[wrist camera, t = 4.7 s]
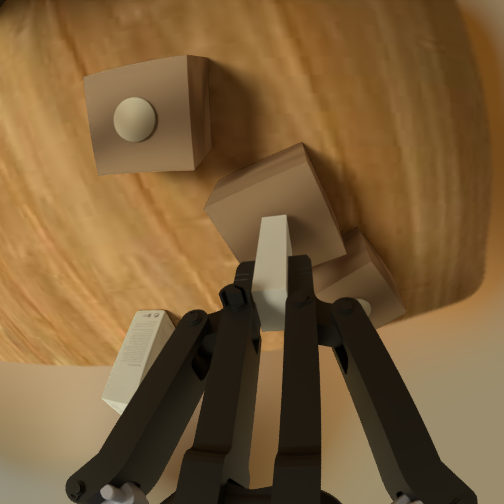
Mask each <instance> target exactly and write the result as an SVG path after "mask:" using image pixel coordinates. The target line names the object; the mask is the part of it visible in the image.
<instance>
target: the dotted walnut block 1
mask: <svg viewBox="0 0 504 504" xmlns="http://www.w3.org/2000/svg"><path fill="white" fill-rule="evenodd" d="M84 88H85V97H86V106H87V113H88V120H89V127H90V133H91V139H92V145H93V151H94V156H95V161H96V166H97V171H98V176H101V175H113V174H126V173H141V172H160V171H189V170H195V169H196V168H197V167H198V165H199V164H200V163H201V162H202V161H203V159H204V158H205V157H206V156H207V155H208V153H209V152H210V151H211V150H212V138H211V120H210V100H209V78H208V58H206V57H199V56H192V55H182V56H174V57H168V58H161V59H156V60H150V61H145V62H140V63H135V64H130V65H126V66H122V67H117V68H113V69H109V70H106V71H102V72H98V73H95V74H91V75H88V76H85V77H84Z"/></svg>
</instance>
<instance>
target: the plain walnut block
mask: <svg viewBox="0 0 504 504" xmlns="http://www.w3.org/2000/svg"><path fill="white" fill-rule="evenodd" d="M203 209H204V210H205V212H206V213H207V215H208V216H209V218H210V219H211V221H212V222H213V224H214V225H215V227H216V228H217V230H218V231H219V233H220V234H221V236H222V237H223V239H224V241H225V242H226V244H227V245H228V247H229V248H230V250H231V251H232V253H233V254H234V256H235V257H236V259H237V260H238V262H239V263H241V262H244V261H254V260H256V255H257V248H258V242H259V235H260V228H261V221H262V217H270V216H278V215H286V216H287V222H288V228H289V235H290V241H291V248H292V256H296V255H305V254H307V255H308V257H309V258H310V259H311V264H312V266H315V265H318V264H321V263H324V262H326V261H329V260H332V259H335V258H337V257H340V256H343V255H346V254H347V253H346V250H345V246H344V243H343V239H342V236H341V233H340V229H339V226H338V223H337V219H336V217H335V214H334V212H333V210H332V207H331V205H330V203H329V200H328V198H327V196H326V193H325V191H324V189H323V186H322V184H321V182H320V180H319V177H318V175H317V173H316V171H315V169H314V167H313V164H312V162H311V160H310V158H309V156H308V154H307V152H306V150H305V147H304V145H303V143H302V142H301V143H298V144H296V145H294V146H291V147H289V148H287V149H284V150H282V151H280V152H278V153H275V154H273V155H271V156H269V157H266V158H264V159H262V160H260V161H258V162H256V163H253V164H251V165H249V166H247V167H245V168H243V169H241V170H239V171H237V172H235V173H232V174H230V175H228V176H226V177H224V178H222V179H220V180H218V182H217V184H216V186H215V188H214V189H213V191H212V193H211V195H210V197H209V199H208V201H207V202H206V204H205V206H204V208H203Z"/></svg>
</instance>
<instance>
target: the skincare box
mask: <svg viewBox="0 0 504 504" xmlns="http://www.w3.org/2000/svg"><path fill="white" fill-rule="evenodd" d="M174 330H175V327H174V325H173V324H172V322H171V320H170V318H169V317H168V315H167V313H166V311H165V310H142V311H137V312H136V314H135V316H134V318H133V321H132V323H131V325H130V328H129V330H128V332H127V334H126V337H125V339H124V342H123V344H122V346H121V349H120V351H119V354H118V356H117V359H116V361H115V363H114V366H113V368H112V371H111V374H110V376H109V379H108V382H107V384H106V387H105V389H104V392H103V395H102V399H103V400H104V401H105V402H106V403H107V404H109V405H110V406H111V407H112V408H113V409H115V410H116V411H117V412H118V413H119V414H121V415H122V413H123V411H124V410H125V408H126V406H127V405H128V403H129V402H130V400H131V398H132V397H133V395H134V393H135V392H136V390H137V389H138V387H139V385H140V384H141V382H142V380H143V379H144V377H145V376H146V374H147V372H148V371H149V369H150V368H151V366H152V364H153V363H154V361H155V360H156V358H157V356H158V355H159V353H160V352H161V350H162V349H163V347H164V345H165V344H166V342H167V341H168V339H169V338H170V336H171V334H172V333H173V331H174Z"/></svg>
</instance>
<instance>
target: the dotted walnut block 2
mask: <svg viewBox="0 0 504 504" xmlns="http://www.w3.org/2000/svg"><path fill="white" fill-rule="evenodd" d="M342 239H343V243H344V246H345V250H346V253H347V254H346V255H343V256H340V257H337V258H335V259H332V260H329V261H326V262H324V263H321V264H318V265H315V266H312V274H313V284H314V293H315V295H316V297H317V298H318V299H319V300H321V301H323V302H327V303H334V302H335V301H336V300H337V299H339V298H343V297H351V298H354V299H356V300H358V301H359V302H360V304H361V305H362V307H363V309H364V310H365V312H366V314H367V316H368V317H369V319H370V321H371V323H372V324H373V326H374V328H375V330H376V329H378V328H380V327H381V326H383V325H385V324H387V323H389V322H391V321H393V320H394V319H396V318H398V317H400V316H402V315H403V314H405V313H407V311H406V308H405V306H404V303H403V300H402V298H401V295H400V292H399V290H398V287H397V285H396V282H395V280H394V277H393V275H392V274H391V272H390V271H389V269H388V268H387V266H386V265H385V264H384V262H383V261H382V259H381V258H380V256H379V255H378V253H377V252H376V251H375V249H374V248H373V246H372V245H371V244H370V242H369V241H368V239H367V238H366V237H365V235H364V234H363V233H362V231H361V230H360V229H359V227H358V226H357V227H356V228H354V229H353V230H351V231H350V232H348V233H347V234H345V235H344V236H342Z"/></svg>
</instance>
